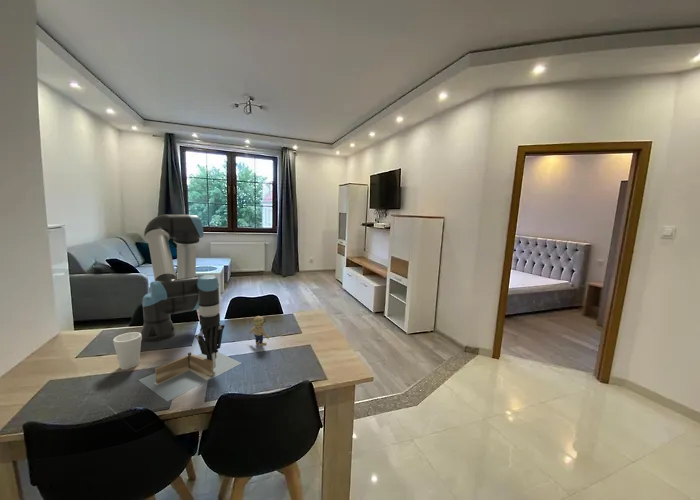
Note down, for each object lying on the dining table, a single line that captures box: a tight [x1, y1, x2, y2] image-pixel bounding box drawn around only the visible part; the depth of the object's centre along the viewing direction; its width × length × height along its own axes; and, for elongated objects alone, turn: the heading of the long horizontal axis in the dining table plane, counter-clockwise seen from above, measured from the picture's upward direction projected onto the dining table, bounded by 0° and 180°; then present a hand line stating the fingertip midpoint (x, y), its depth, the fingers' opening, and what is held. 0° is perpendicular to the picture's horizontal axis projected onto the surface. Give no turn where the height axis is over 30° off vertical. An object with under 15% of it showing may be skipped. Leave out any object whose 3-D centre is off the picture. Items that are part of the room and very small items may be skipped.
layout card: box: [138, 351, 242, 402], centre depth 120 cm, size 22×31×1 cm
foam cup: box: [112, 331, 143, 371], centre depth 122 cm, size 10×9×13 cm
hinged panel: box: [187, 351, 213, 376], centre depth 120 cm, size 1×13×7 cm, turn 67°
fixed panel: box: [154, 355, 189, 384], centre depth 116 cm, size 1×12×6 cm, turn 148°
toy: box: [248, 315, 270, 346], centre depth 145 cm, size 13×6×15 cm, turn 65°
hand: (212, 367), depth 121 cm, fingers closed
